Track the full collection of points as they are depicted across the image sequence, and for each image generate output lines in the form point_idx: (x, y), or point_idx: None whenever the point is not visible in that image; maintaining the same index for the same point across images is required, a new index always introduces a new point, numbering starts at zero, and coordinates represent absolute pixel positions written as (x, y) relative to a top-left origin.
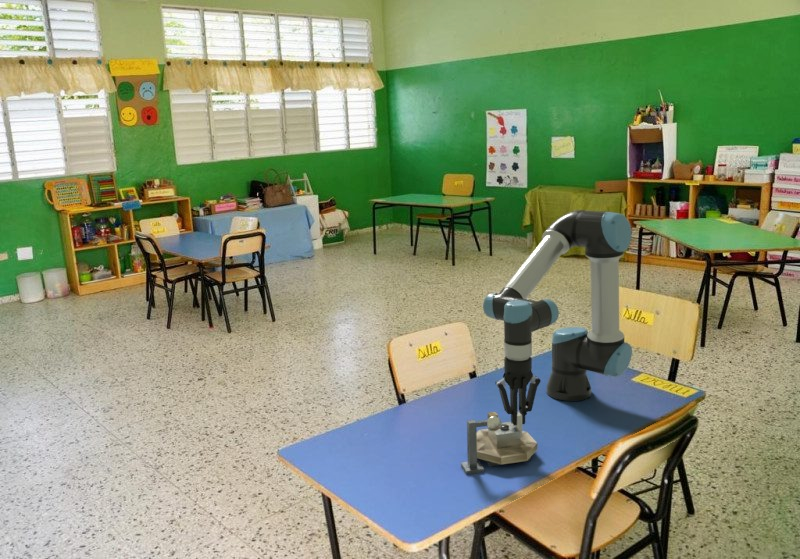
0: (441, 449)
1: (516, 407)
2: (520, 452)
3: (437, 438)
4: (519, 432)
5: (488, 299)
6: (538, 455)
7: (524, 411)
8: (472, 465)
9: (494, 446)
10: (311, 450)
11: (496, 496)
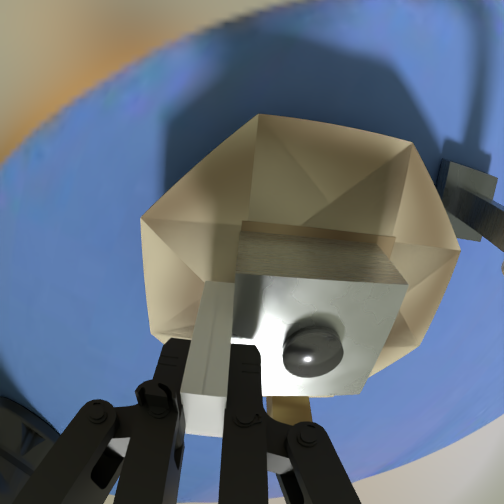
0: (441, 346)
1: (232, 472)
2: (286, 146)
3: (406, 394)
4: (244, 270)
5: None
6: (154, 200)
7: (151, 416)
8: (478, 194)
9: None
10: None
11: (461, 5)
